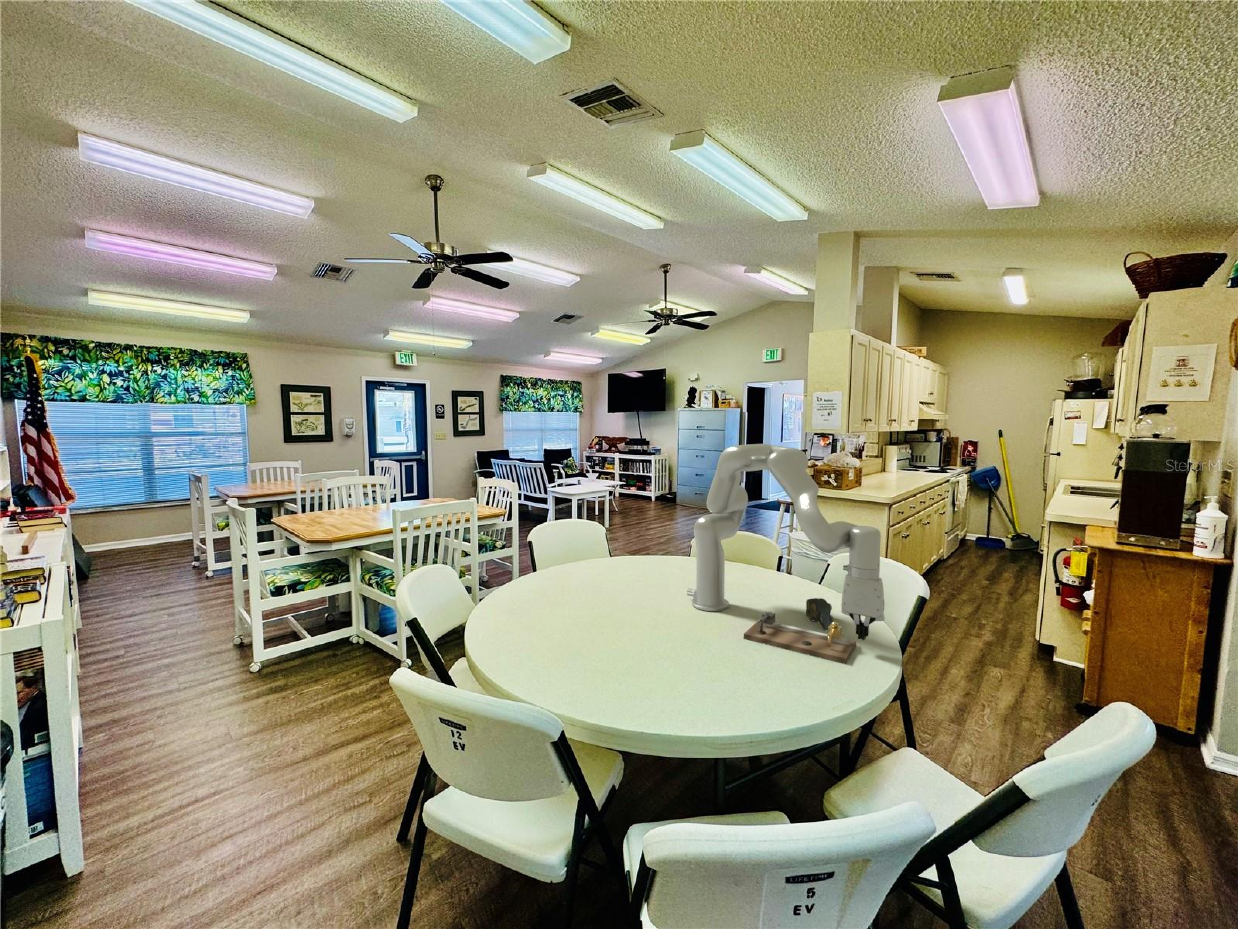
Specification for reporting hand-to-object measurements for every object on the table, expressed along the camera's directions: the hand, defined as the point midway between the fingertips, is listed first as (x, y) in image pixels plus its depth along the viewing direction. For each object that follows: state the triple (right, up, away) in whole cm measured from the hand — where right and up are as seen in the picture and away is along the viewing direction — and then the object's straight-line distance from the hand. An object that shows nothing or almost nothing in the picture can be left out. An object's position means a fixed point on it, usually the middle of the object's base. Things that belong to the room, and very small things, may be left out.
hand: (861, 637), depth 141 cm
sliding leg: (-7, -2, +2) cm, 8 cm away
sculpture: (-3, -3, +21) cm, 22 cm away
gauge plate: (-15, -4, +7) cm, 17 cm away
